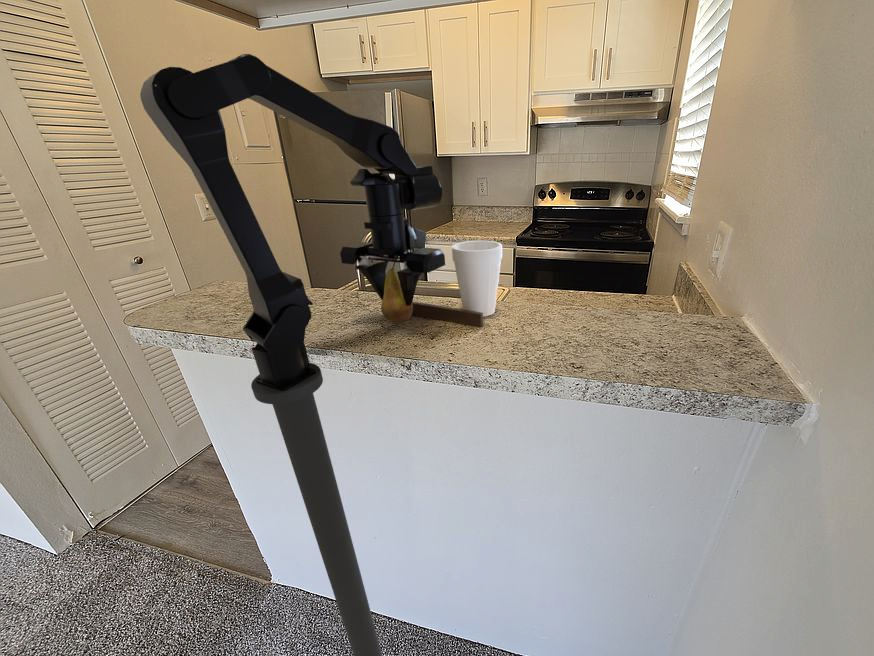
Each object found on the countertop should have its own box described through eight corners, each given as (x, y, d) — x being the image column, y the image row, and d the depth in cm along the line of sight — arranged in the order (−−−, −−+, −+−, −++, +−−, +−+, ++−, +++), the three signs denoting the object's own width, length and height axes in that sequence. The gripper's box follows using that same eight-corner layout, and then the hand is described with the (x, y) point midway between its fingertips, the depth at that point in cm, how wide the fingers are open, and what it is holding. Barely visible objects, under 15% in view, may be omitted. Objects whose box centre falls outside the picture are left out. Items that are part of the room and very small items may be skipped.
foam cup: (481, 300, 87) (479, 238, 81) (512, 310, 81) (512, 244, 75) (446, 311, 81) (441, 246, 75) (476, 324, 75) (474, 254, 69)
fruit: (385, 320, 77) (369, 257, 73) (414, 314, 78) (400, 252, 74) (385, 328, 72) (368, 261, 68) (416, 322, 73) (402, 255, 69)
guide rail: (481, 327, 74) (480, 314, 73) (393, 311, 82) (392, 300, 81) (483, 325, 75) (483, 312, 73) (396, 310, 83) (395, 298, 82)
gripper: (458, 209, 69) (462, 296, 77) (373, 206, 77) (384, 285, 84) (422, 219, 61) (430, 316, 68) (330, 214, 68) (347, 302, 75)
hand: (397, 303), depth 74 cm, fingers closed on fruit, 5 cm apart
